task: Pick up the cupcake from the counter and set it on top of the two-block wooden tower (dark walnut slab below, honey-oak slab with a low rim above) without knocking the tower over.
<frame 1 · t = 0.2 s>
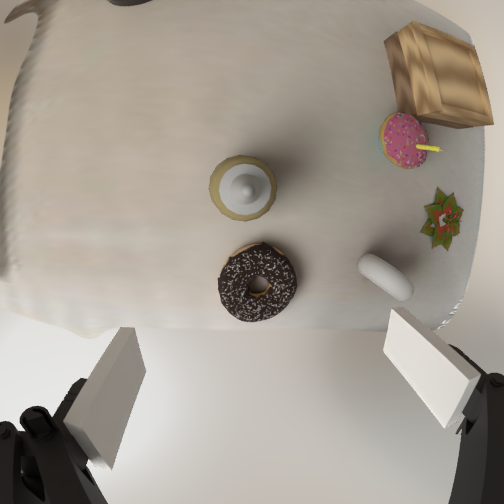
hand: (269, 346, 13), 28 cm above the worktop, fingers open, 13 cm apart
tower top: (441, 79, 31), point 5 cm above the worktop, touching tower base
tower base: (423, 85, 36), on the worktop, touching tower top
donut 2: (255, 280, 42), on the worktop
lily flower: (440, 219, 42), on the worktop
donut: (370, 266, 43), on the worktop
cupcake: (389, 143, 38), on the worktop
squeeze bottle: (240, 186, 38), on the worktop
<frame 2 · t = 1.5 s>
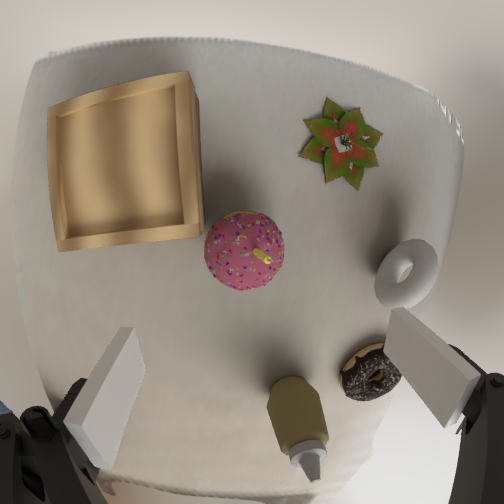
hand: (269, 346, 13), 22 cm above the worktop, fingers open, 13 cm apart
tower top: (129, 165, 26), point 4 cm above the worktop, touching tower base
tower base: (141, 168, 31), on the worktop, touching tower top
donut 2: (368, 367, 41), on the worktop
lily flower: (341, 144, 32), on the worktop
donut: (386, 262, 36), on the worktop
cupcake: (242, 242, 34), on the worktop
squeeze bottle: (288, 388, 41), on the worktop
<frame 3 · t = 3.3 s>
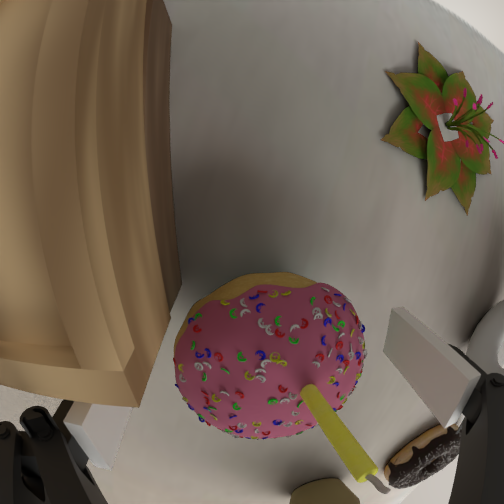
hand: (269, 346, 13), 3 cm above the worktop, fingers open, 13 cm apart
tower top: (3, 167, 8), point 4 cm above the worktop, touching tower base
tower base: (57, 165, 13), on the worktop, touching tower top
donut 2: (420, 447, 23), on the worktop
lily flower: (442, 127, 14), on the worktop
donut: (477, 325, 18), on the worktop
cupcake: (260, 319, 16), on the worktop
squeeze bottle: (316, 487, 22), on the worktop
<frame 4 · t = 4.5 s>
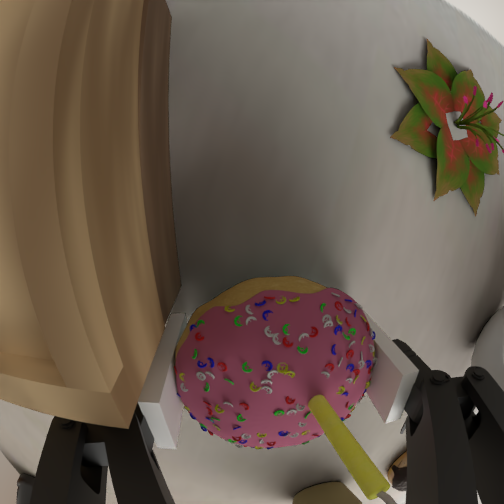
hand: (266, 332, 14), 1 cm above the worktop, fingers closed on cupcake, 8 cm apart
tower base: (51, 163, 12), on the worktop
donut 2: (424, 450, 22), on the worktop
lily flower: (451, 126, 14), on the worktop
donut: (483, 327, 18), on the worktop
cupcake: (265, 323, 15), on the worktop, touching gripper
squeeze bottle: (318, 490, 22), on the worktop
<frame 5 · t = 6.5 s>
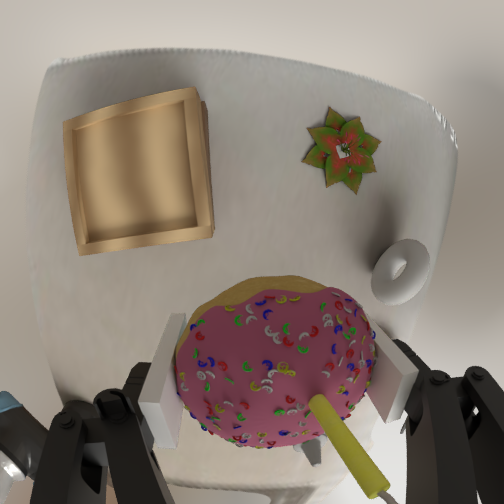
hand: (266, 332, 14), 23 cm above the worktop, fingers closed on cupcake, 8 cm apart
tower top: (142, 173, 29), point 5 cm above the worktop
tower base: (154, 172, 34), on the worktop
lily flower: (341, 150, 35), on the worktop
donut: (382, 260, 39), on the worktop
cupcake: (265, 322, 15), point 22 cm above the worktop, touching gripper
squeeze bottle: (291, 379, 43), on the worktop
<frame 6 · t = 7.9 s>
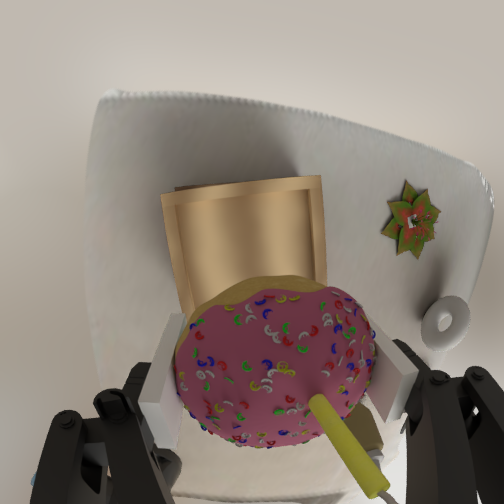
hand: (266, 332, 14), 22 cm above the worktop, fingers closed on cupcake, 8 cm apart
tower top: (247, 249, 32), point 5 cm above the worktop, touching tower base
lily flower: (410, 220, 38), on the worktop
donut: (428, 310, 42), on the worktop
cupcake: (265, 322, 15), point 21 cm above the worktop, touching gripper
squeeze bottle: (345, 408, 46), on the worktop
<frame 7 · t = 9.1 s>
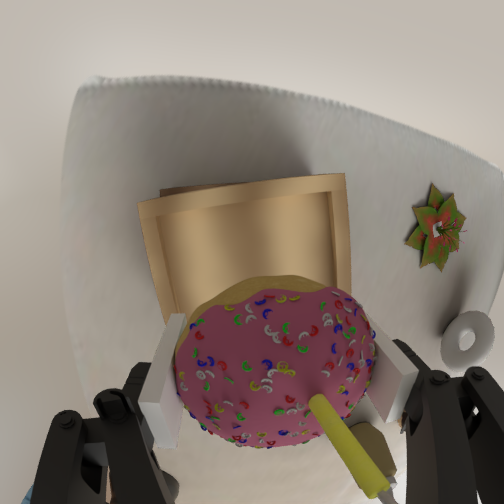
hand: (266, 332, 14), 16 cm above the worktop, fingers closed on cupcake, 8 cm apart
tower top: (251, 266, 25), point 5 cm above the worktop, touching tower base
tower base: (246, 252, 30), on the worktop, touching tower top
lily flower: (434, 228, 32), on the worktop
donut: (448, 326, 36), on the worktop
cupcake: (265, 322, 15), point 15 cm above the worktop, touching gripper
squeeze bottle: (355, 431, 40), on the worktop
when the fingers open (12 cm above the worktop, at t = 11.0 s): cupcake drops 2 cm, resting on tower top.
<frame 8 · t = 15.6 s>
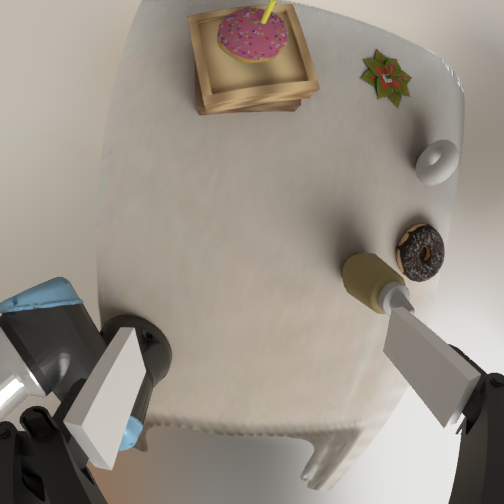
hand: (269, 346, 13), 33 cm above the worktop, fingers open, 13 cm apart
tower top: (249, 60, 34), point 4 cm above the worktop, touching cupcake
tower base: (244, 71, 39), on the worktop
donut 2: (416, 251, 49), on the worktop
lily flower: (385, 78, 40), on the worktop
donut: (420, 162, 44), on the worktop
cupcake: (250, 50, 30), point 8 cm above the worktop, touching tower top
squeeze bottle: (355, 268, 48), on the worktop
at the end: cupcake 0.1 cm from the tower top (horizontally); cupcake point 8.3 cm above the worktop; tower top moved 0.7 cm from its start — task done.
